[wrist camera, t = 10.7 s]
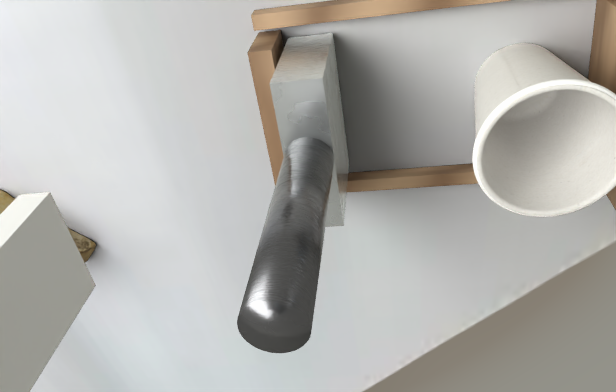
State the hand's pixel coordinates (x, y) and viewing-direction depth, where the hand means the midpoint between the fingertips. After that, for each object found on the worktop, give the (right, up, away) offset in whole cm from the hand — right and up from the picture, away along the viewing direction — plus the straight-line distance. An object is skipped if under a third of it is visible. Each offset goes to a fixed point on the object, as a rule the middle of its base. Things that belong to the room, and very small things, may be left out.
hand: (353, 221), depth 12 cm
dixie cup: (+13, +8, +28) cm, 32 cm away
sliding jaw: (0, +7, +30) cm, 31 cm away
